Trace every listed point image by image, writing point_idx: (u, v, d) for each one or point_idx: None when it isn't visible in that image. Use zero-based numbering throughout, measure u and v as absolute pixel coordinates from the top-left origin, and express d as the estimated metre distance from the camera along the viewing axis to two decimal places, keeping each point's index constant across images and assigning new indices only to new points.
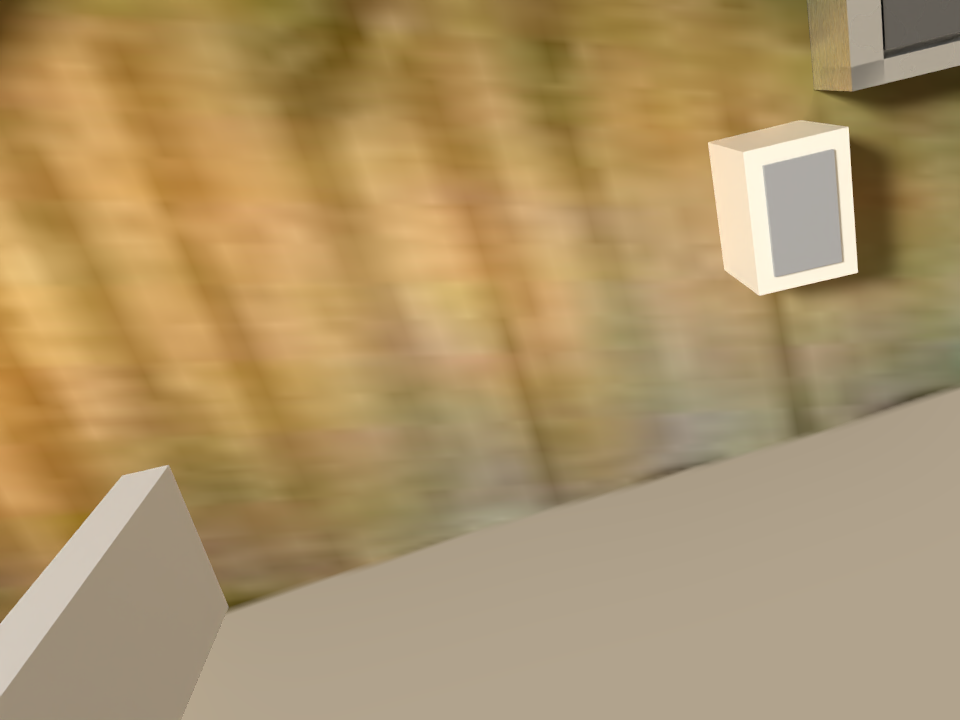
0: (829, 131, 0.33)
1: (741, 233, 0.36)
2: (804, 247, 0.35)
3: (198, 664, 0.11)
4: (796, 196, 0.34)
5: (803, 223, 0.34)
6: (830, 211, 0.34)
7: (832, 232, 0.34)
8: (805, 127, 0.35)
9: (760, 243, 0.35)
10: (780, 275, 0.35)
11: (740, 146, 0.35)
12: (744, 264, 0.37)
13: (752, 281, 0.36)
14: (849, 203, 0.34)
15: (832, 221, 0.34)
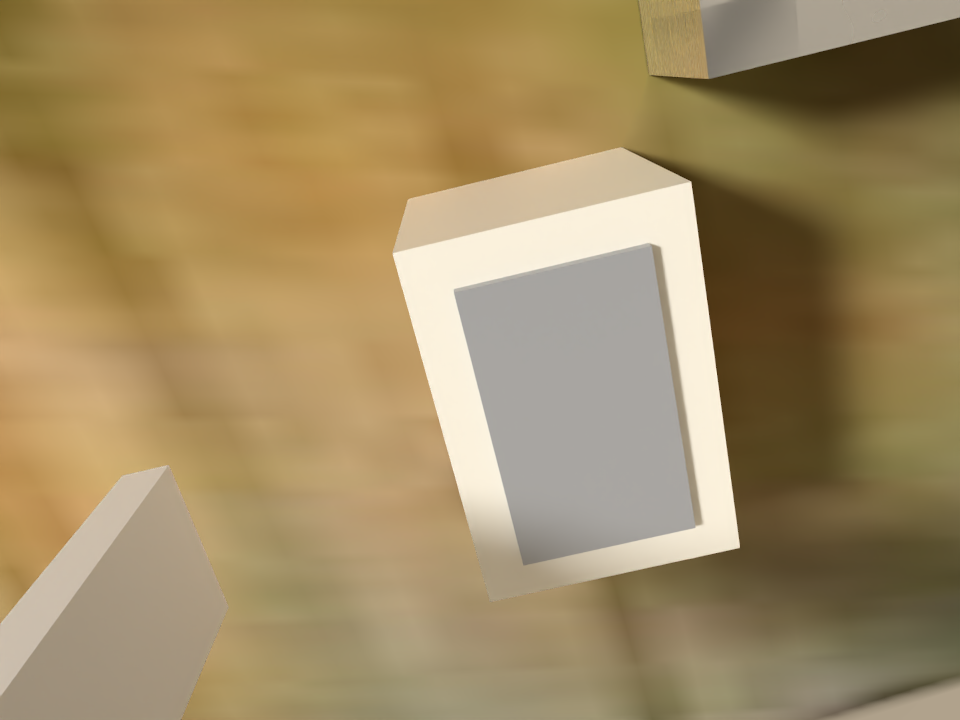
0: (638, 194, 0.12)
1: None
2: (592, 496, 0.13)
3: (198, 664, 0.11)
4: (557, 372, 0.12)
5: (583, 438, 0.13)
6: (654, 408, 0.12)
7: (664, 459, 0.13)
8: (606, 172, 0.14)
9: (477, 483, 0.13)
10: (536, 561, 0.13)
11: (423, 225, 0.13)
12: None
13: None
14: (707, 384, 0.13)
15: (662, 432, 0.13)
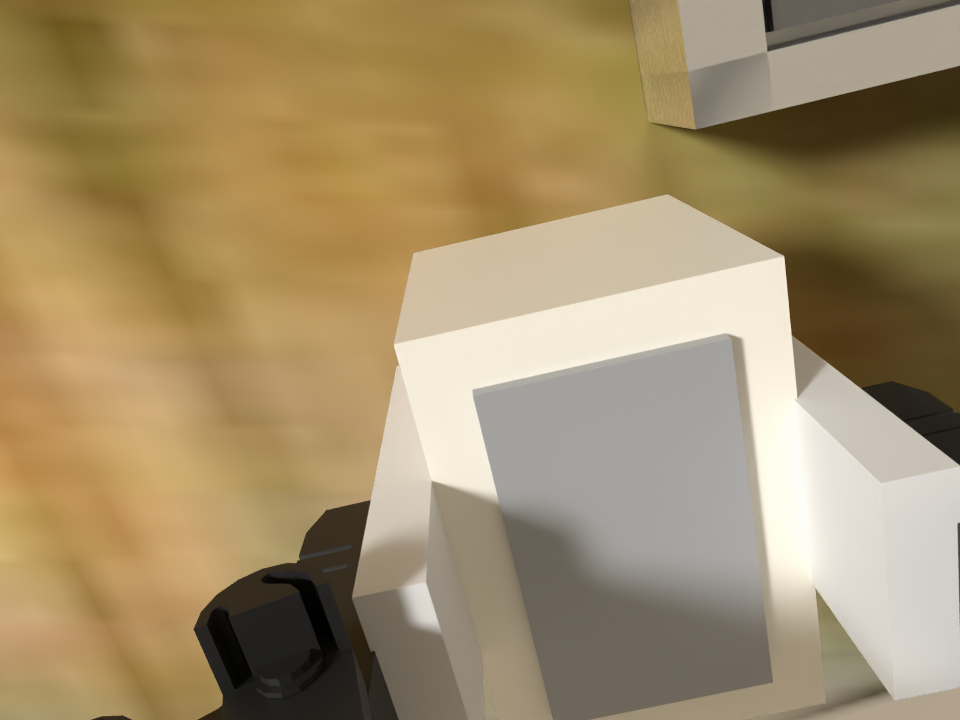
0: (714, 271, 0.09)
1: None
2: (643, 644, 0.10)
3: None
4: (603, 494, 0.09)
5: (634, 575, 0.10)
6: (727, 539, 0.10)
7: (736, 601, 0.10)
8: (659, 231, 0.11)
9: (498, 625, 0.10)
10: None
11: (432, 300, 0.10)
12: None
13: None
14: (794, 507, 0.10)
15: (736, 568, 0.10)
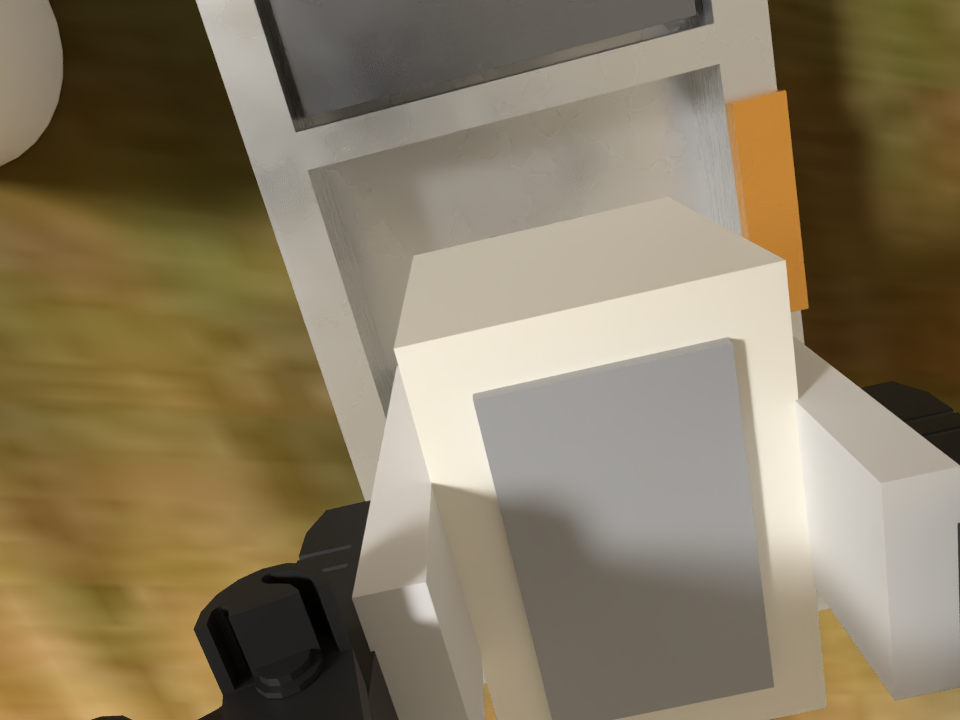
0: (715, 275, 0.09)
1: None
2: (644, 649, 0.10)
3: None
4: (603, 499, 0.09)
5: (635, 580, 0.10)
6: (728, 543, 0.10)
7: (737, 605, 0.10)
8: (660, 234, 0.11)
9: (498, 630, 0.10)
10: None
11: (433, 303, 0.10)
12: None
13: None
14: (795, 512, 0.10)
15: (737, 573, 0.10)
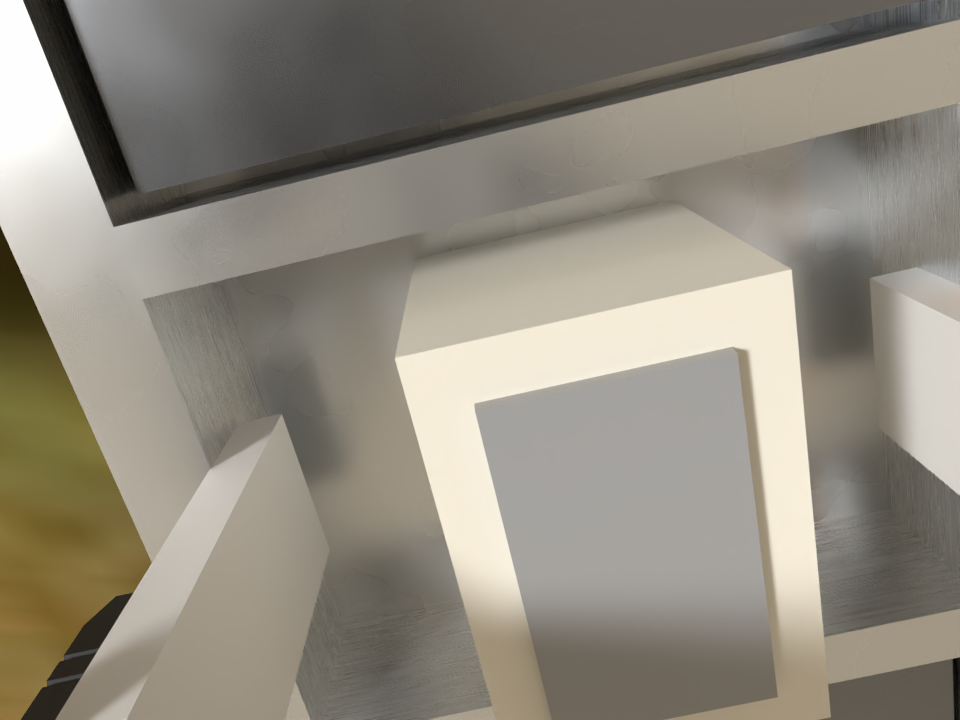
0: (720, 284, 0.09)
1: None
2: (647, 659, 0.10)
3: (313, 595, 0.12)
4: (607, 509, 0.09)
5: (638, 590, 0.10)
6: (732, 553, 0.10)
7: (741, 616, 0.10)
8: (664, 240, 0.11)
9: (499, 640, 0.10)
10: None
11: (434, 310, 0.10)
12: None
13: None
14: (800, 522, 0.10)
15: (741, 583, 0.10)
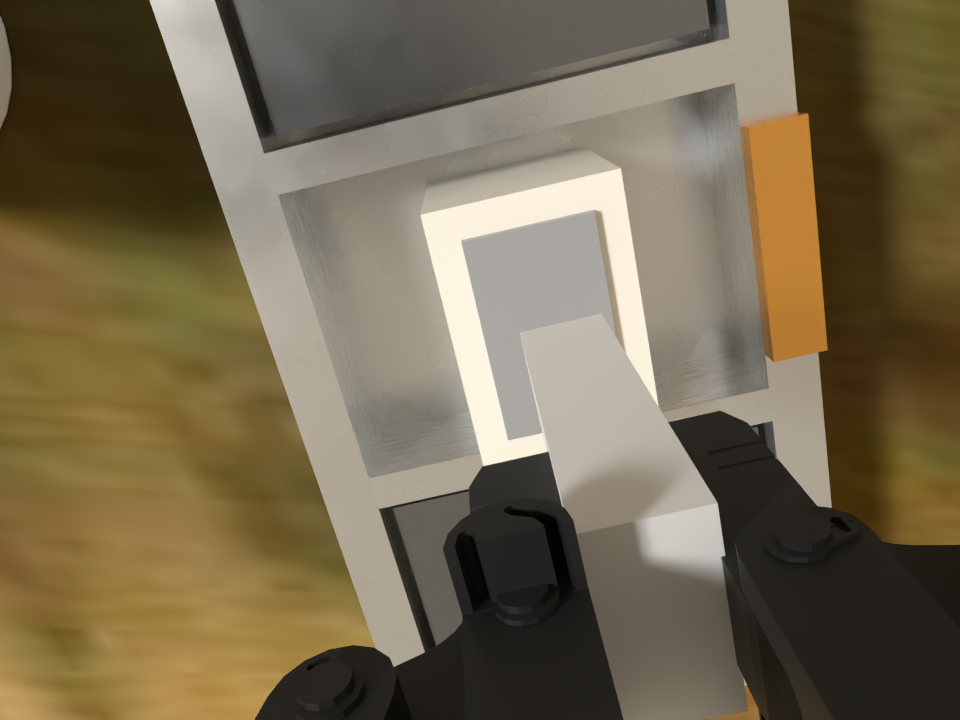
0: (585, 176, 0.17)
1: None
2: None
3: None
4: (531, 298, 0.18)
5: None
6: None
7: None
8: (569, 163, 0.19)
9: (475, 380, 0.19)
10: (517, 437, 0.19)
11: (440, 199, 0.19)
12: None
13: None
14: (636, 310, 0.18)
15: None
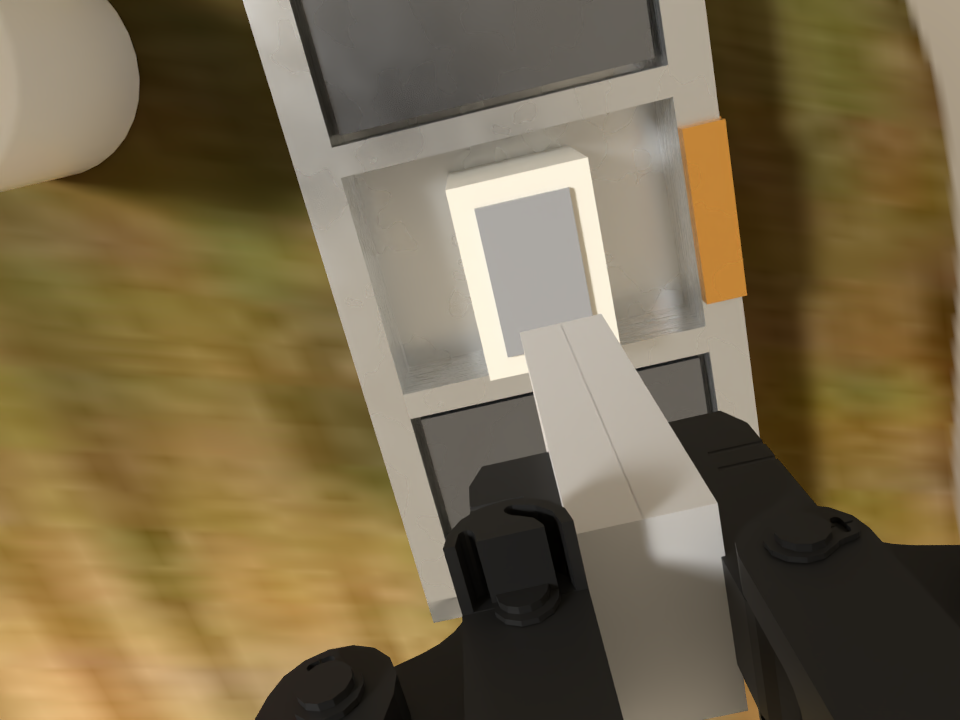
0: (563, 163, 0.24)
1: None
2: (542, 318, 0.26)
3: None
4: (524, 251, 0.25)
5: (537, 287, 0.25)
6: (573, 271, 0.25)
7: (579, 299, 0.25)
8: (554, 156, 0.26)
9: (484, 312, 0.26)
10: (514, 355, 0.26)
11: (458, 181, 0.26)
12: None
13: None
14: (600, 260, 0.25)
15: (577, 284, 0.25)
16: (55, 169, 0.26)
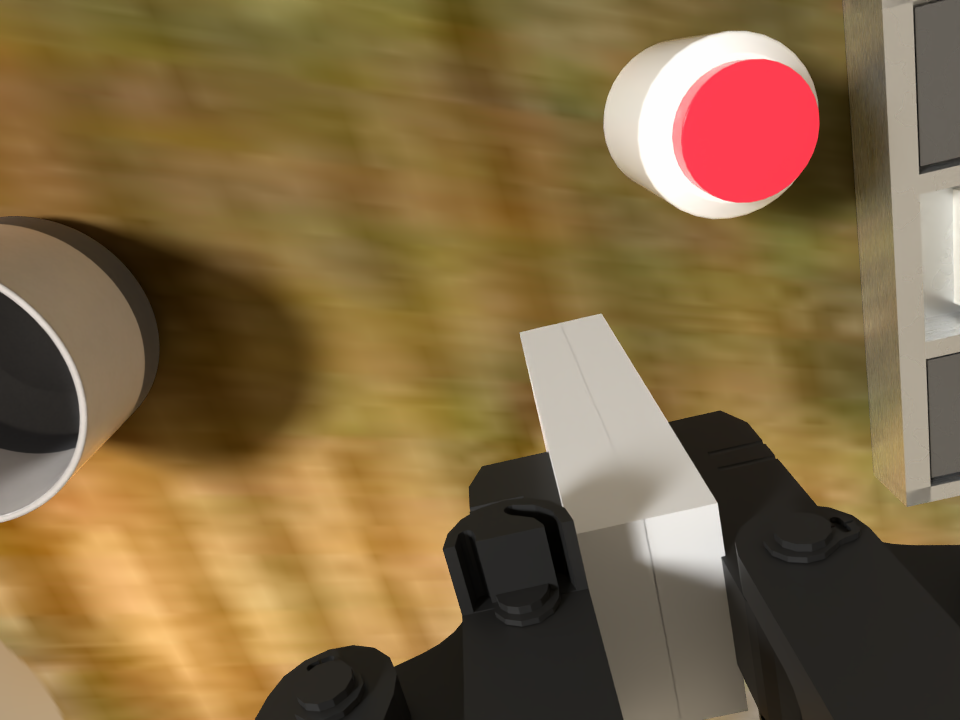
0: None
1: None
2: None
3: None
4: None
5: None
6: None
7: None
8: None
9: None
10: None
11: None
12: None
13: None
14: None
15: None
16: None
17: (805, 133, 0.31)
